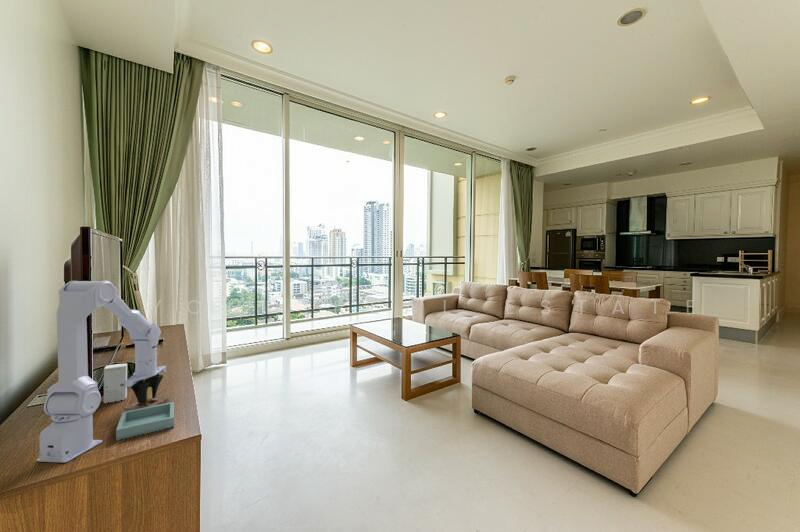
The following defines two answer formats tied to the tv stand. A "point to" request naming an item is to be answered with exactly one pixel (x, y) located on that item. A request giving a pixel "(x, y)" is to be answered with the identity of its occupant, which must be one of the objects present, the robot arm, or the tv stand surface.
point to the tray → (145, 420)
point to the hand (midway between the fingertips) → (146, 400)
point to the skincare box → (115, 382)
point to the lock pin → (148, 397)
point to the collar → (155, 402)
